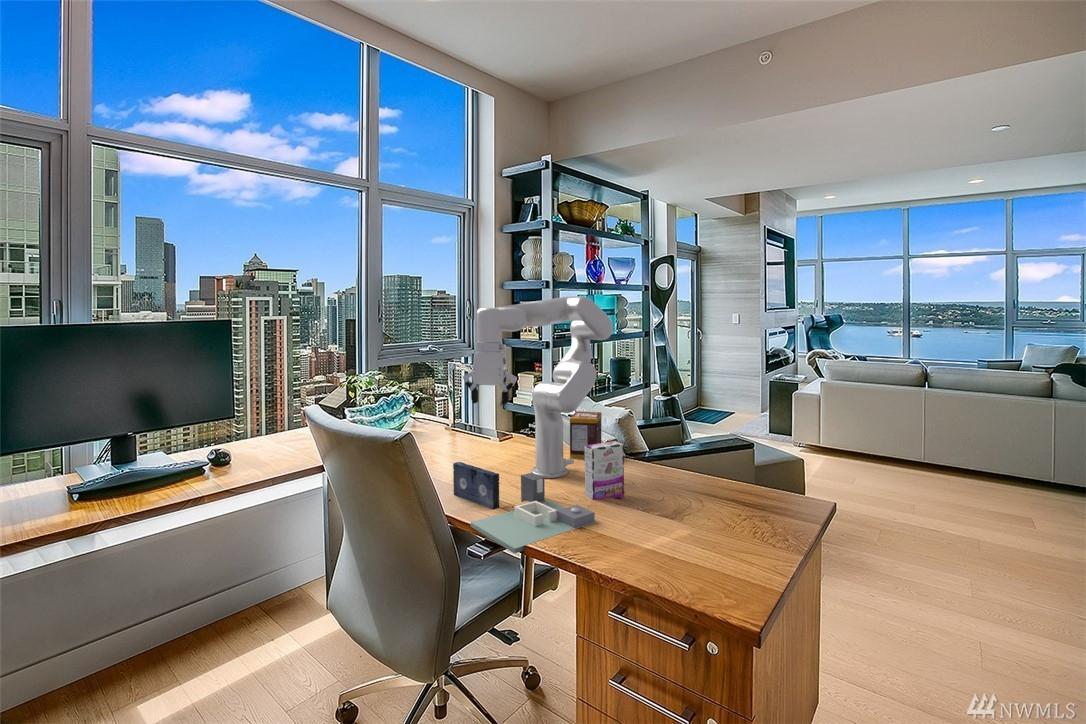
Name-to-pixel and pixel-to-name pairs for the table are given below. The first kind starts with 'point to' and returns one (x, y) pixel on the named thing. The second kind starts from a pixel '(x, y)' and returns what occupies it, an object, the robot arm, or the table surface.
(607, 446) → the candy bar box
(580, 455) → the supplement box
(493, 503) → the vhs cassette tape
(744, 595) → the table surface
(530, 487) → the plug
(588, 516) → the grey button box
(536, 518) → the board
